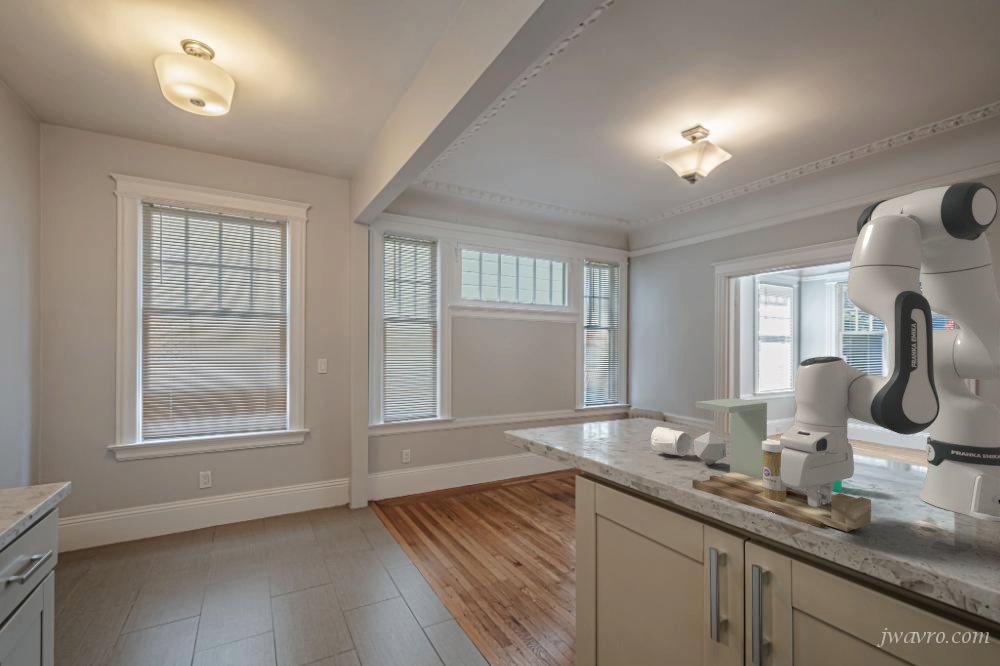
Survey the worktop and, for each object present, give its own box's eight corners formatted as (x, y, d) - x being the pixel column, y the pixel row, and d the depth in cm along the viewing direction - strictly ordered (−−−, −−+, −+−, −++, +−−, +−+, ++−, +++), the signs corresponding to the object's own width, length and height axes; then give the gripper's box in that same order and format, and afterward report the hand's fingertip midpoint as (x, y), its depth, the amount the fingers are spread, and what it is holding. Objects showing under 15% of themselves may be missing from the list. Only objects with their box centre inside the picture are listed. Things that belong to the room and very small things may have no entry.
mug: (664, 448, 152) (665, 424, 152) (691, 454, 144) (691, 429, 145) (644, 454, 144) (645, 429, 144) (671, 460, 137) (672, 434, 137)
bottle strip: (870, 529, 86) (870, 499, 86) (855, 535, 83) (855, 505, 83) (768, 496, 103) (768, 471, 103) (752, 500, 100) (752, 475, 100)
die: (730, 470, 127) (730, 435, 127) (696, 468, 129) (696, 433, 129) (721, 462, 136) (721, 429, 136) (690, 460, 137) (690, 427, 138)
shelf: (766, 488, 113) (766, 402, 113) (728, 498, 105) (728, 406, 105) (732, 477, 121) (733, 398, 121) (695, 486, 113) (695, 401, 113)
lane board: (857, 518, 95) (857, 509, 95) (819, 532, 87) (819, 523, 87) (730, 478, 120) (730, 471, 120) (692, 487, 113) (692, 480, 113)
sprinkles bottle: (758, 501, 100) (757, 440, 100) (771, 498, 102) (769, 438, 102) (779, 508, 96) (777, 444, 96) (792, 504, 98) (790, 442, 98)
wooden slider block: (793, 493, 105) (793, 469, 105) (778, 497, 102) (778, 472, 102) (734, 475, 118) (735, 454, 118) (720, 479, 115) (720, 457, 115)
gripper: (830, 428, 99) (829, 491, 99) (774, 437, 89) (773, 507, 89) (864, 434, 93) (863, 501, 93) (808, 445, 84) (807, 519, 84)
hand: (818, 504), depth 91 cm, fingers closed
